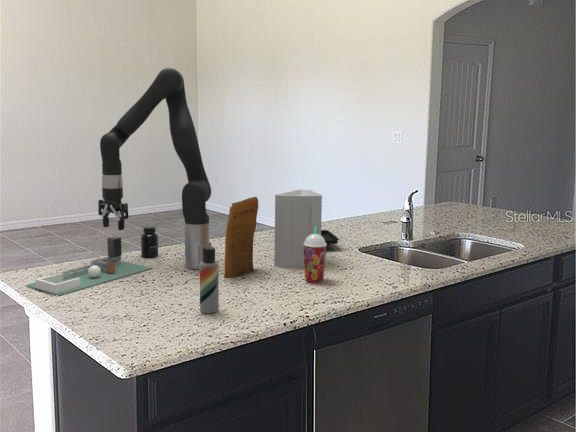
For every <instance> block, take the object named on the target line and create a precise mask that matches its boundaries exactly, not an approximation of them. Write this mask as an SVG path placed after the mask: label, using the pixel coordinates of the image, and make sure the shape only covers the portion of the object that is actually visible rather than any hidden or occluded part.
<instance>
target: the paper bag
mask: <svg viewBox="0 0 576 432" xmlns="http://www.w3.org/2000/svg"><path fill="white" fill-rule="evenodd" d="M322 210H323V195H322V194H320V193H319V192H318V193H317V192H315V191H313V190H311V189H296V190H290V191H286V192H281V193H277V194H274V265H273V266H274V267H277V268H281V269H301V268H302V269H303V268H304V247H303V243H304V241H305V239H306V238H307V237H308V236H309V235H311V234H314V226H316V234H319V235H321V230H322V214H323V213H322V212H323V211H322Z"/></svg>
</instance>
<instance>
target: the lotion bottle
mask: <svg viewBox="0 0 576 432" xmlns="http://www.w3.org/2000/svg"><path fill="white" fill-rule="evenodd" d="M219 268H220V267H219V262H218V261H216V248H215V247H213V246H211V247H207V246H205V247H204V248H203V261H202V262H200V269H199V311H200V312H201V313H203V312H204V314H214V312H215V313H217V312H218V311H219V310H220V308H219V307H220V306H219V305H220V304H219V303H220V302H219V301H220V299H219V298H220V297H219V295H220V293H219V291H220V290H219V286H220V285H219V282H220V281H219V279H220V277H219Z"/></svg>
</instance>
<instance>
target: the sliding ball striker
mask: <svg viewBox="0 0 576 432" xmlns="http://www.w3.org/2000/svg"><path fill="white" fill-rule="evenodd" d="M106 242H107V256H105V257H100V258H96V259H92V260H91V265H92V266H93V265H97V266H101V267H105V268H106V272H109V273H115V263H114V262H115V261H119V260H120V261H122V255H123V253H122V237H119V236H110V237H107V241H106Z"/></svg>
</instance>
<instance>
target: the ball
mask: <svg viewBox="0 0 576 432" xmlns="http://www.w3.org/2000/svg"><path fill="white" fill-rule="evenodd" d="M100 273H101V269H100V267H99V266H97V265H93V266H91V267H90V268H89V269H88V274H89V276H91V277H93V278H95V277H98V276H99V275H100Z"/></svg>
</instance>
